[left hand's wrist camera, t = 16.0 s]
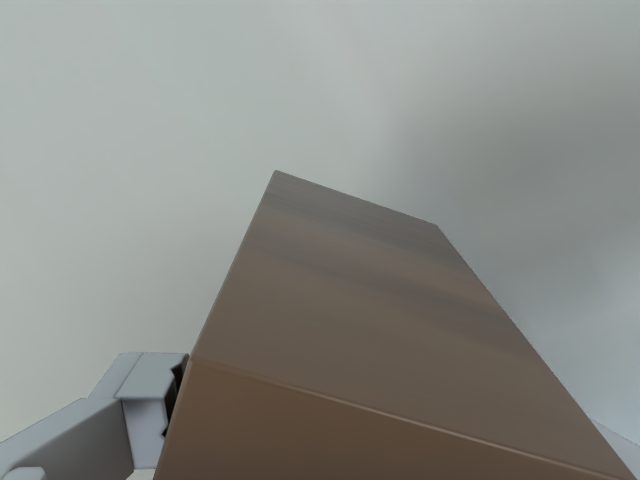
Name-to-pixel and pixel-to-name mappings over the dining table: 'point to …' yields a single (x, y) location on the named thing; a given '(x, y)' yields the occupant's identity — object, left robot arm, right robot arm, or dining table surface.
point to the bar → (367, 361)
